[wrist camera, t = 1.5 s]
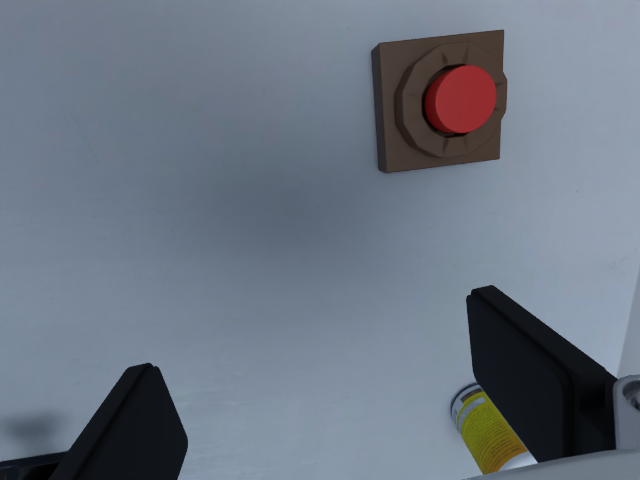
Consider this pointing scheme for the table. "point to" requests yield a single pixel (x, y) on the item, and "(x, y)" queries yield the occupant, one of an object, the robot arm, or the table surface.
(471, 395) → the supplement bottle
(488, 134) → the button block
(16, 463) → the lever bracket
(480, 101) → the red button
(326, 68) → the table surface
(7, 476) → the toaster lever
